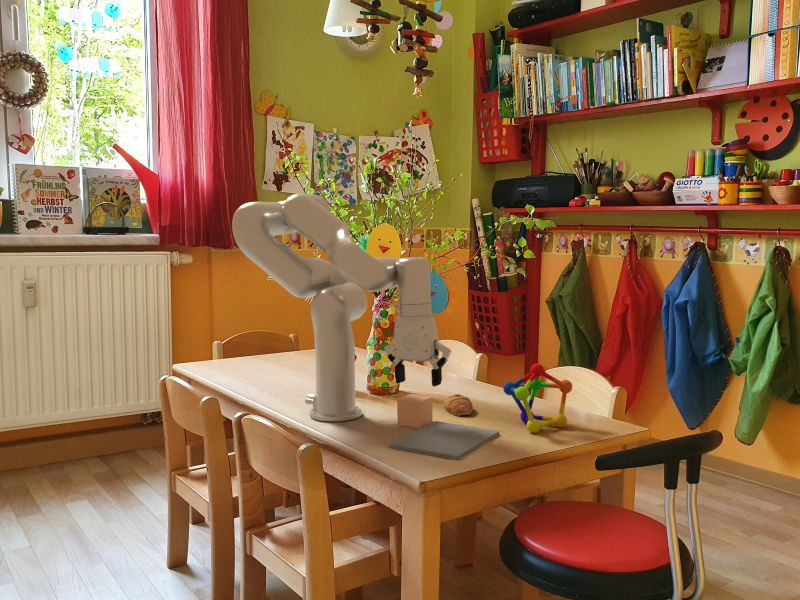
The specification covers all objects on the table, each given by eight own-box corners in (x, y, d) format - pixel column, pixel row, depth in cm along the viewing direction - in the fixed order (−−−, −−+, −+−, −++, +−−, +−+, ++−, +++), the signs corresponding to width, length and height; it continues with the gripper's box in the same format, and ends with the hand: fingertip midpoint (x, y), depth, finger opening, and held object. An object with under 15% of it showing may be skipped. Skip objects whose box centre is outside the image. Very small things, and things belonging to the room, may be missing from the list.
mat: (389, 447, 153) (389, 443, 153) (435, 424, 170) (435, 421, 170) (457, 460, 145) (457, 456, 145) (499, 434, 162) (499, 430, 162)
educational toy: (529, 419, 178) (534, 357, 177) (574, 430, 168) (579, 365, 167) (486, 425, 167) (491, 360, 167) (531, 437, 158) (536, 368, 157)
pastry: (478, 416, 177) (478, 401, 177) (451, 418, 176) (451, 403, 176) (467, 407, 186) (467, 392, 186) (442, 408, 185) (441, 394, 185)
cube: (397, 424, 171) (397, 399, 170) (410, 418, 176) (410, 393, 175) (419, 428, 168) (419, 402, 167) (432, 421, 173) (432, 396, 172)
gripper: (375, 312, 170) (378, 384, 172) (440, 313, 161) (443, 390, 163) (392, 308, 177) (395, 378, 178) (456, 309, 168) (458, 383, 169)
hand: (418, 383), depth 171 cm, fingers open, 9 cm apart
